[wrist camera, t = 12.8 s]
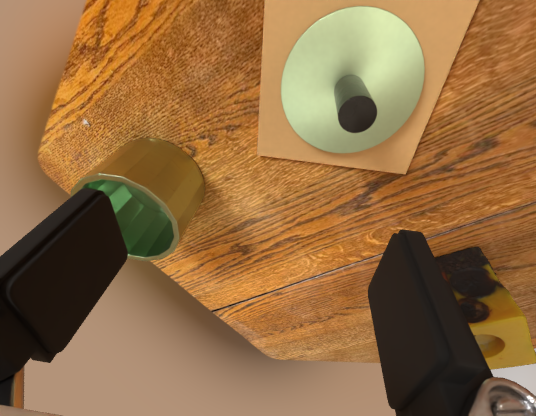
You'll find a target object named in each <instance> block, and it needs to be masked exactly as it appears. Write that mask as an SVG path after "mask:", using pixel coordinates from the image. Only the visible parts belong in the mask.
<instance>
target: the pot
mask: <svg viewBox="0 0 536 416" xmlns="http://www.w3.org/2000/svg"><path fill="white" fill-rule="evenodd" d="M83 188H87V189H94V190H101V191H103V192H104V193H105V194H106V196H108V197H109V198H110V200H111V203H112V206H113V209H114V212H115V215H116V218H117V221H118V224H119V227H120V230H121V233H122V236H123V239H124V242H125V245H126V248H127V251H128V256H127V258H130V259H135V260H142V261H151V260H158V259H163V258H165V257H166V256H168V255H169V254H171V253H172V252H174V251H175V249H176V247H177V246H178V244H179V242H180V240H181V238H182V237H183V235H184V233H185V231H186V230H187V228H188V226H189V224H190V222H191V221H192V219H193V217H194V215H195V214H196V212H197V210H198V208H199V206H200V204H201V202H202V200H203V197H204V193H205V184H204V179H203V176H202V173H201V171H200V169H199V168H198V166H197V164H196V163H195V162H194V160H193V159H192V158H191V157H190V156H189V155H188V154H187V153H185V152H184V151H183V150H182V149H180V148H179V147H177V146H175V145H174V144H172V143H169V142H167V141H164V140H161V139H156V138H140V139H136V140H133V141H131V142H130V143H127V144H125V145H124V146H123V147H121V148H120V149H119V150H117V151H116V152H115V153H114V154H112V155H111V156H110V157H108V158H107V159H106V160H104V161H103V162H102V163H101V164H99V165H98V166H97V167H95V168H94V169H93V170H91V171H90V172H89V173H88V174H86V175H85V176H84V177H82V178H81V179H80V180H79V181H78V183H77V184H76V185H75V186H74V187H73V188H72V190H71V197H72V196H73V195H74V194H76V193H77V192H78V191H79V190H81V189H83Z"/></svg>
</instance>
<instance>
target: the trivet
mask: <svg viewBox="0 0 536 416" xmlns="http://www.w3.org/2000/svg"><path fill="white" fill-rule="evenodd" d="M478 2H479V0H265V7H264V26H263V46H262V65H261V84H260V104H259V123H258V143H257V155H260V156H268V157H276V158H283V159H291V160H299V161H306V162H314V163H322V164H330V165H337V166H345V167H353V168H360V169H368V170H376V171H384V172H391V173H399V174H406V172H407V170H408V167H409V165H410V163H411V160H412V158H413V155H414V153H415V151H416V148H417V146H418V144H419V141H420V139H421V137H422V134H423V132H424V130H425V127H426V125H427V123H428V120H429V118H430V115H431V113H432V111H433V108H434V106H435V104H436V101H437V99H438V97H439V94H440V92H441V90H442V87H443V85H444V82H445V80H446V78H447V75H448V73H449V71H450V68H451V66H452V64H453V61H454V59H455V57H456V54H457V52H458V50H459V47H460V45H461V42H462V40H463V38H464V35H465V33H466V31H467V28H468V26H469V24H470V21H471V19H472V17H473V14H474V12H475V10H476V7H477V5H478ZM353 6H371V7H377V8H381V9H384V10H386V11H389V12H391V13H393V14H395V15H396V16H398V17H399V18H401V19H402V20H403V21H404V22H405V23H407V25H408V26H409V27H410V28H411V29H412V30H413V32H414V34H415V35H416V37H417V39H418V41H419V43H420V46H421V48H422V52H423V56H424V65H425V74H424V83H423V88H422V91H421V95H420V98H419V100H418V102H417V104H416V107H415V108H414V110H413V112H412V113H411V115H410V117H409V118H408V119H407V121H406V122H405V123H404V124H403V125H402V126H401V127H400V129H399V130H398V131H396V132H395V133H394V134H393V135H392V136H391V137H389V138H388V139H386V140H385V141H383V142H382V143H380V144H378V145H376V146H374V147H371V148H369V149H366V150H363V151H359V152H354V153H332V152H327V151H324V150H321V149H318V148H316V147H314V146H312V145H310V144H309V143H307V142H306V141H304V140H303V139H302V138H301V137H300V136H299V135H298V134H297V133H296V132H295V131H294V129H293V128H292V127H291V125H290V123H289V122H288V120H287V118H286V115H285V112H284V110H283V105H282V100H281V80H282V73H283V70H284V66H285V63H286V61H287V58H288V56H289V54H290V52H291V50H292V48H293V46H294V45H295V43H296V42H297V41H298V39H299V38H300V36H301V35H302V34H303V33H304V32H305V31H306V30H307V29H308V28H309V27H310V26H311V25H313V24H314V23H315V22H316V21H318V20H319V19H321V18H322V17H324V16H326V15H327V14H330V13H332V12H334V11H336V10H340V9H343V8H346V7H353Z"/></svg>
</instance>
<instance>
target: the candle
mask: <svg viewBox="0 0 536 416" xmlns="http://www.w3.org/2000/svg"><path fill="white" fill-rule="evenodd" d="M435 261H436V263H437V265H438V267H439V269H440V271H441V273H442V275H443V278H444V279H446V280H447V282H448V283H449V285H450V287H451V289H452V291H453V293H454V295H455V297H456V299H457V301H458V303H459V306H460V308H461V310H462V312H463V314H464V316H465V318H466V320H467V322H468V324H469V326H470V329H471V331H472V333H473V335H474V337H475V339H476V341H477V343H478V345H479V347H480V350H481V352H482V354H483V356H484V358H485V360H486V362H487V364H488V366H489V368H490V370H491V369H499V368H506V367H515V366H522V365H529V364H535V363H536V352H535V350H534V348H533V345H532V342H531V337H530V331H529V328H528V324H527V320H526V317H525V315H524V314H523V312H522V311H521V309H520V308H519V307H518V305H517V304H516V303H515V301H514V300H513V299H512V297H511V295H510V293H509V291H508V290H507V289H506V288H505V287H504V286H503V285H502V284H501V283H500V281H499V280H498V278H497V277H496V273H495V272H494V271H493V269H492V267H491V265H490V262H489V261H488V259H487V258H486V257H485V256H484V254H483V253H482V251H481V249H480V248H479V247H474V248H468V249H466V250H463V251H457V252H454V253H452V254H448V255H443V256H440V257H437V258H435Z"/></svg>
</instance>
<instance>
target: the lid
mask: <svg viewBox="0 0 536 416" xmlns="http://www.w3.org/2000/svg"><path fill="white" fill-rule="evenodd" d="M424 74H425V65H424V56H423V52H422V48H421V46H420V43H419V41H418V39H417V37H416V35H415V34H414V32H413V30H412V29H411V28H410V27H409V26H408V25H407V23H405V22H404V21H403V20H402V19H401V18H399V17H398V16H396V15H395V14H393V13H391V12H389V11H386V10H384V9H381V8H377V7H371V6H353V7H346V8H343V9H340V10H336V11H334V12H332V13H330V14H327V15H326V16H324V17H322V18H321V19H319V20H318V21H316V22H315V23H314V24H313V25H311V26H310V27H309V28H308V29H307V30H306V31H305V32H304V33H303V34H302V35H301V36H300V38H299V39H298V41H297V42H296V43H295V45H294V46H293V48H292V50H291V52H290V54H289V56H288V58H287V61H286V63H285V66H284V70H283V73H282V80H281V100H282V105H283V110H284V112H285V115H286V118H287V120H288V122H289V123H290V125H291V127H292V128H293V129H294V131H295V132H296V133H297V134H298V135H299V136H300V137H301V138H302V139H303V140H304V141H306V142H307V143H309V144H310V145H312V146H314V147H316V148H318V149H321V150H324V151H327V152H332V153H354V152H359V151H363V150H366V149H369V148H371V147H374V146H376V145H378V144H380V143H382V142H383V141H385V140H386V139H388V138H389V137H391V136H392V135H393V134H394V133H395V132H396V131H398V130H399V129H400V127H401V126H402V125H403V124H404V123H405V122H406V121H407V119H408V118H409V117H410V115H411V113H412V112H413V110H414V108H415V107H416V104H417V102H418V100H419V98H420V95H421V91H422V88H423V83H424Z"/></svg>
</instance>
